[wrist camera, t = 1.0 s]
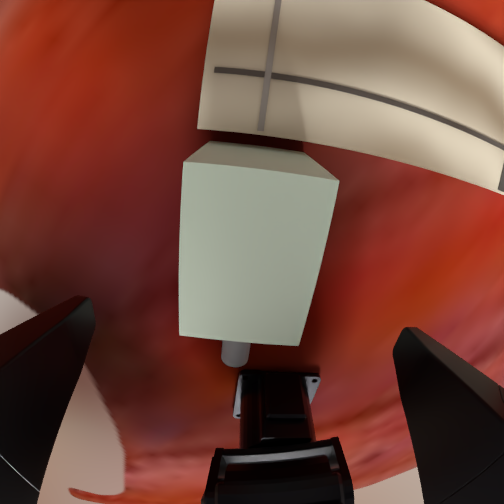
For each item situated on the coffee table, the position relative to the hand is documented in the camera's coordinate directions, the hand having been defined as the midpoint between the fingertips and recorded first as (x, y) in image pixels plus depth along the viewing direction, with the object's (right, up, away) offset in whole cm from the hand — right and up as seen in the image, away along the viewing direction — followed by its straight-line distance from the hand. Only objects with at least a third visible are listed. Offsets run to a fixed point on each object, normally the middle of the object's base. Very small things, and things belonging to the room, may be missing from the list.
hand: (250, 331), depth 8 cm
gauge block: (0, +3, +10) cm, 10 cm away
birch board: (+11, +12, +6) cm, 17 cm away
